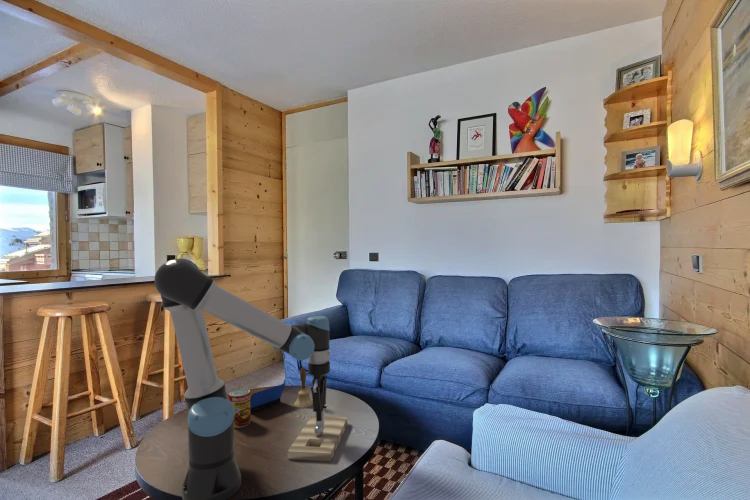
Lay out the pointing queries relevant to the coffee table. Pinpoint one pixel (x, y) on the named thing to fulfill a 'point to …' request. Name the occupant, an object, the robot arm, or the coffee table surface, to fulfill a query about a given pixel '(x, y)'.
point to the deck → (318, 440)
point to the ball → (318, 430)
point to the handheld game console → (266, 397)
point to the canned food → (241, 407)
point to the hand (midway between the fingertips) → (320, 428)
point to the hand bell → (303, 393)
